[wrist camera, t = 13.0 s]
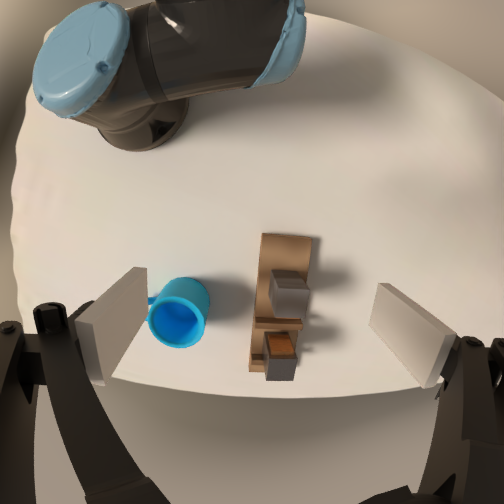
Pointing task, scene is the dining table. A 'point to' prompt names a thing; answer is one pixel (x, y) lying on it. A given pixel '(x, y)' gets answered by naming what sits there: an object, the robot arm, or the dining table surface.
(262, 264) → the rail
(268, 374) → the dark grey upright block
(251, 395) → the dining table surface
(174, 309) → the mug
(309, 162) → the dining table surface
